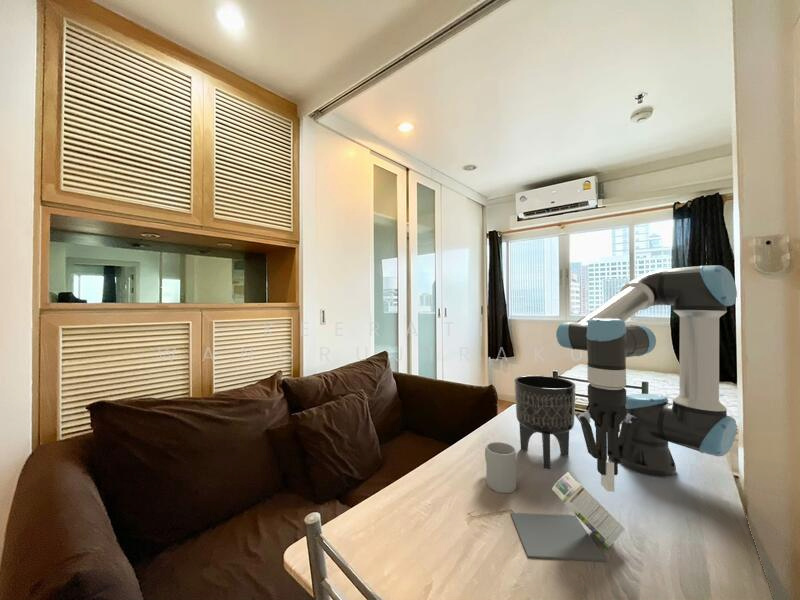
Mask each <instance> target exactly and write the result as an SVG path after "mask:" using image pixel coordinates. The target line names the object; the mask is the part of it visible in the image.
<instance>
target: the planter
mask: <svg viewBox="0 0 800 600" xmlns="http://www.w3.org/2000/svg"><path fill="white" fill-rule="evenodd" d="M514 394H515V411H516V412H515V414H516V420H517V422H518V423H519V437H520V440H519V442H520V450H522V451H524V452H526V451H527V450H528V449H529V443H530V440H531V439H530V438H532V435H534V434H536V433H538V434H539V433H540V434H541V439H542V440H541V441H542V461H543V462H542V465H543V469H548V470H551V435H553V436H554V437H555V439H556V440H557V441H558V442H557V443H558V445H559V450H560V455H562V456H563V457H569V454H570V453H569V450H570V431H571V430H573V429H574V425H575V415H576V412H575V410H576V408H575V407H576V384H575V383H574V382H573V381H571V380H568V379H565V378H561V377H554V376H549V375H548V376H547V375H523V376H518V377H516V378H515V379H514Z"/></svg>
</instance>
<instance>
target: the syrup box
mask: <svg viewBox="0 0 800 600" xmlns="http://www.w3.org/2000/svg"><path fill="white" fill-rule="evenodd" d="M551 489H552V491H553V492H554V493H555V494H556V496H557V497H558V498H559V499H560V500H561V501H562V502H563V504H565V506H566V507H568V509H569V510H570V511H571V513H573V515H575V516H576V517H577V519H578V520H579V521H581V522H582V523H583V524H584V526H586V527H587V528H588V529H589V531H590V532H592V534H593V535H595V536H596V537H597V538H598V539H599V541H600V542H601V543H602V544H603V545H604V546H605V547H606V548H610V547H611V546H612V545H613V544H614V543H615V541H616V540H617V539H618V538H619V537H620V536H621V534H622V533H624V531H625V530H626V529H625V527H624V526H622V524H621V523H620V522H618V520H617V519H616V518H615V517H614V516H613V515H612V514H611V513H610V512H609V511H608V510H607V509H606V508H605V507H604V506H603V505H602V504H601V503H600V502H599V501H598V499H596V497H594V496H593V495H592V494H591V493H590V492H589V491H588V490H587V489H586V488H585V486H584V485H582V484H581V483H580V482H579V481H578V480H577V479H576V477H575V476H573V475H572V474H571V473H570V472H566V473H564V475H563V476H561V477H560V478H559V480H557V481H556V482H555V484H554V485H553V487H552V488H551Z"/></svg>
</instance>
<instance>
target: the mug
mask: <svg viewBox="0 0 800 600" xmlns="http://www.w3.org/2000/svg"><path fill="white" fill-rule="evenodd" d="M516 453H517V452H516V449H515V447H514V446H513V445H510V444H509V443H505V442H501V441H496V442H489V443H487V445H486V446H485V450H484V457H485V462H486V464H485V465H486V466H485V467H486V474H485V477H486V480H485V481H486V485H487V487H488V488H489V489H490V490H493V492H497V493H500V494H510V493H513V492H514V491H515V490H516V489H517V463H516V462H517V455H516Z"/></svg>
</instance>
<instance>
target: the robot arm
mask: <svg viewBox="0 0 800 600" xmlns="http://www.w3.org/2000/svg"><path fill="white" fill-rule="evenodd" d="M620 289H621V290H620V292H618V293H617V294H616V295H614V296H612V297H611V298H610V299H608V300H606V301H605V302H604V303H602V304H601V305H598V307H596V308H595V309H594V310H592V311H590V312H589V313H587V314H585V316H583V317H581V318H580V319H578V320H577V321H575V322H573V321H568V322H565V321H564V322H562V323H560V324H559V325H558V326H557V329H556V332H555V333H556V334H555V338H556V340H557V343H558V344H559V345H560V346H561V347H562V348H567V349H571V350H574V351H575V350H578V351H584V352H585V351H586V353H587V354H586V355H587V383H589V384H588V385H587V401H588V403H587V405H586V408H585V411H584V412H582V413H579V412H578V413H575V417H576V419H577V420H578V422H579V423H580V426H581V429H582V433H583V434H582V435H583V438H584V441H585V445H586V450H587V453H589V455H591V457H592V458H593V459H596V463H597V464H596V470H597V472H598V473H599V474H600V485H601V487H603V488H604V489H605V490H606V492H611V493H613V492H615V476H618V473H619V472H618V471H619V470H618V468H619V466H618V465H619V464H621V465H623V466H624V467H626V468H627V469H629V470H632V471H634V472H637V473H640V474H642V475H643V474H644V475H647V476H650V477H657V478H669V477H670V478H671V477H673V476H675V475H676V474H677V468H676V463H675V459H674V457H673V455H672V453H671V450H670V448H669V443H671V444H675V445H679V446H682V447H685V448H687V449H691V450H693V451H696V452H699V453H701V454H706V455H711V456H714V457H723V456H725V455H726V454H728V453H729V452H730V450H731V448H732V447H733V445H734V443H735V439H736V437H737V430H738V425H737V421H736V419H735V418H734V417H732V416H730V415H728V413H727V412H728V411H727V409H728V408H727V407H726V406H725V405H724V404H723V403H721V401H720V318H721V317H722V316H724V315H725V314H726V313H727V312H728V310H727V309H728V308H727V307H730V306H733V305H735V304H736V303H737V298H738V297H737V296H738V293H737V292H738V290H737V286H736V282H735V279H734V277H733V274H732V273H731V271H730V270H729V269H728V268H727V267H725V266H723V265H698V266H696V265H695V266H686V267H675V268H662V269H661V268H660V269H657V270H654V271H649V272H647V273H644V274H643V275H640V276H638V277H636V278H634V279H632V280H631V281H629V282H627V283H626V284H625V285H624V286H622V287H621V288H620ZM652 306H673V310H672V311H673V312H674V313H675V314H676V315H677V316H678V317H679V383H678V384H679V389H678V392H679V395H678V396H676V397H674V398H673V399H672V403H670V402H669V399H668V397H667V396H664V395H662V394H661V395H660V394H654V393H631V394H628V395H627V389H626V388H625V387H626V386H627V370H626V369H627V365H626V361H627V358H632V357H641V356H644V355H647V354H649V353H651V352H652V351H653V350H654V349H655V347H656V346H657V338H656V335H655V334H654V332H653V331H652V330H651V329H650V328H649V327H646V326H645V325H641V324H640V325H639V324H630V325H626V323H625V321H627V320H629V318H631V317H632V316H634V315H635V314H636V313H637V312H639V311H643V310H647V309H649V308H650V307H652ZM591 420H592V421H593V422H594V427H595V436H594V433H593V428H592V426H591V425H592V424H591ZM620 425H621V426H620Z"/></svg>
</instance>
